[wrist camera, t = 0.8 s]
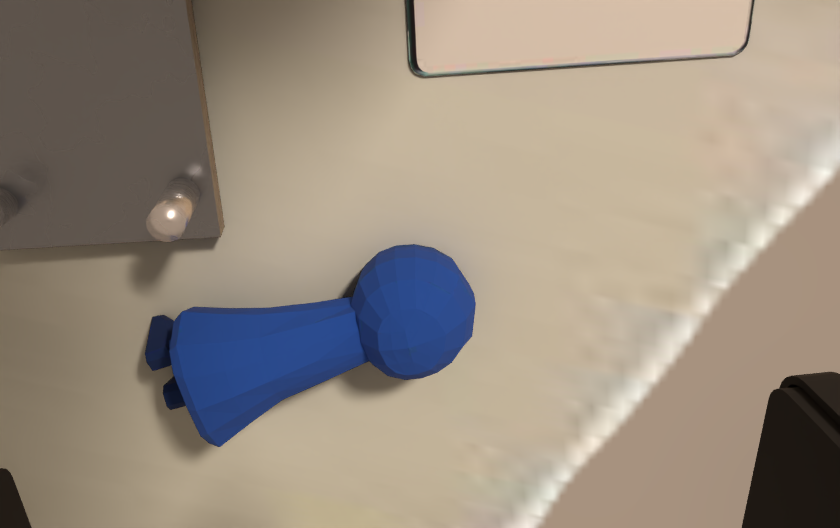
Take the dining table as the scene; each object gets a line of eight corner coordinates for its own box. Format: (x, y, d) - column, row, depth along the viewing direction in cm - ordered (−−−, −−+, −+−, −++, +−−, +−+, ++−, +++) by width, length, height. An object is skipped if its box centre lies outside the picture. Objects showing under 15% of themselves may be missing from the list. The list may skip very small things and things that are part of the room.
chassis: (-114, -121, 26) (-203, -130, 21) (173, -124, 26) (142, -135, 22) (-7, 239, 31) (-60, 288, 27) (224, 226, 32) (208, 271, 28)
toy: (198, 399, 37) (481, 337, 37) (168, 483, 31) (502, 411, 31) (149, 285, 34) (456, 216, 34) (107, 356, 28) (475, 275, 28)
